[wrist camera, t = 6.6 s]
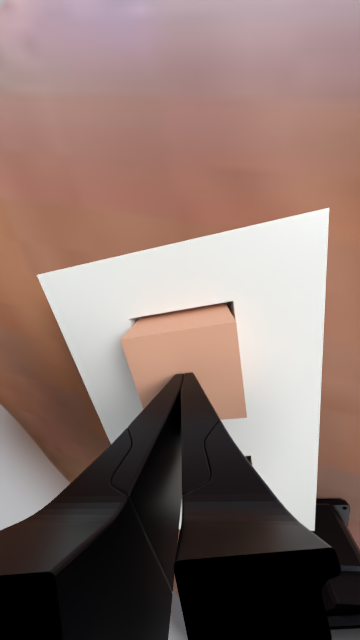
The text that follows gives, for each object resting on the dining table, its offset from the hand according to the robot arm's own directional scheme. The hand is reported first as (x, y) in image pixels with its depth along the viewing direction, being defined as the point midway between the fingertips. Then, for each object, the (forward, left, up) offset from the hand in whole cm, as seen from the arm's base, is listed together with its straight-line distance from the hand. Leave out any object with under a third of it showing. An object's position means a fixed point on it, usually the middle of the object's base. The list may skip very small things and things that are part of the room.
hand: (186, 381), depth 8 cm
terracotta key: (0, 0, -4) cm, 4 cm away
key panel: (-5, 0, -6) cm, 8 cm away
